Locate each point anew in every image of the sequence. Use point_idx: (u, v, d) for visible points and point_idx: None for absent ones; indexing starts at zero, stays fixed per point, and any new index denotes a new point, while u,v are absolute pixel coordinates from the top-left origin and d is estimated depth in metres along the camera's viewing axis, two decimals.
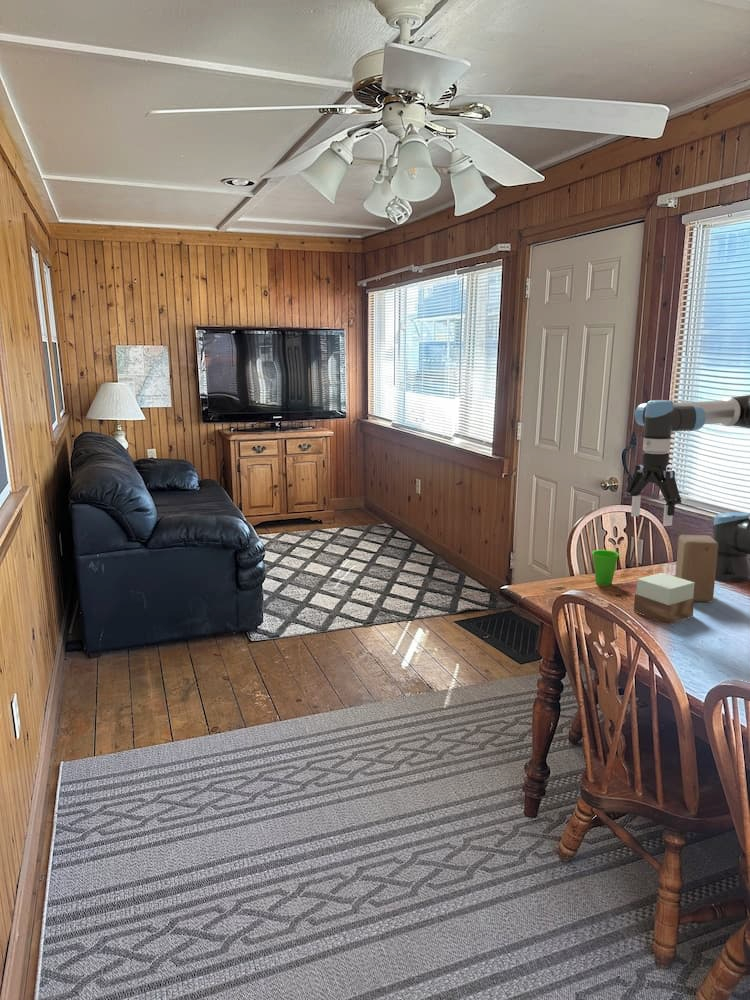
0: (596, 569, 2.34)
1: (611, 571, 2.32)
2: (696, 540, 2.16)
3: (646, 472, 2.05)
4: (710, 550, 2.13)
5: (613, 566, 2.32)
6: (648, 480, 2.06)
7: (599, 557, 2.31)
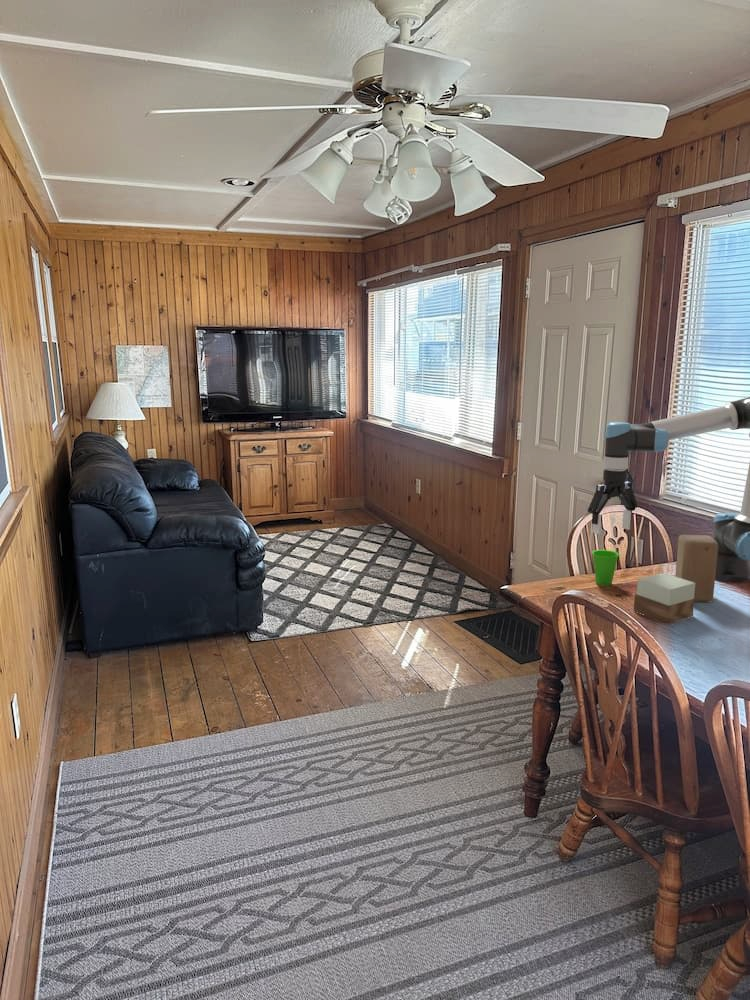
0: (596, 569, 2.34)
1: (611, 571, 2.32)
2: (696, 540, 2.16)
3: None
4: (710, 550, 2.13)
5: (613, 566, 2.32)
6: None
7: (599, 557, 2.31)
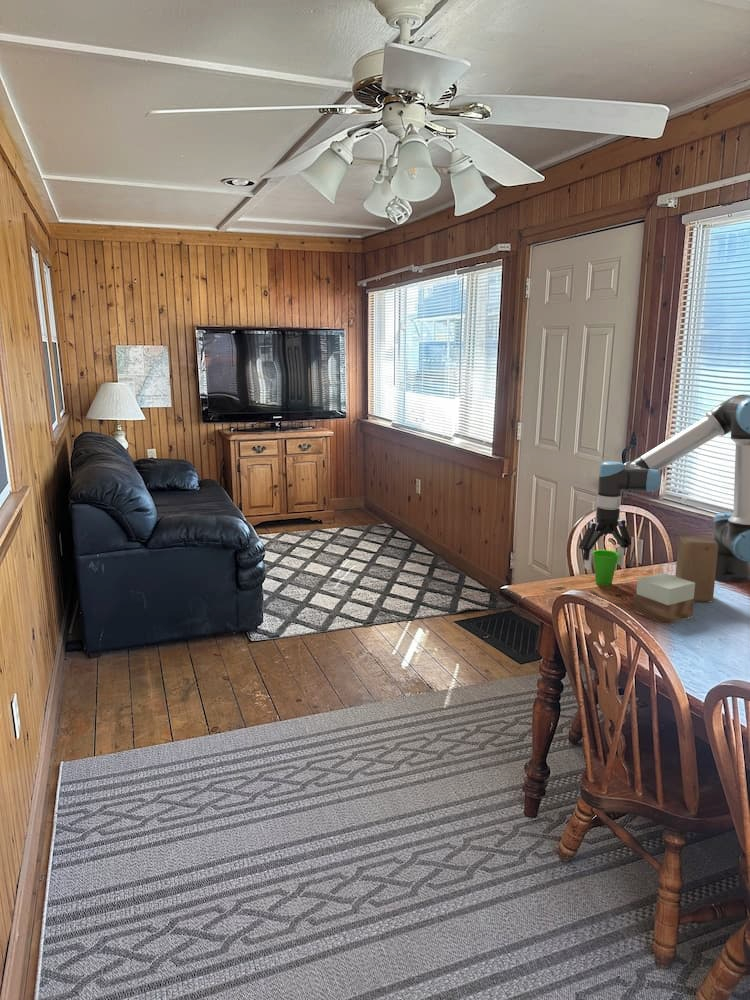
0: (596, 569, 2.34)
1: (611, 571, 2.32)
2: (696, 540, 2.16)
3: None
4: (710, 550, 2.13)
5: (613, 566, 2.32)
6: None
7: (599, 557, 2.31)
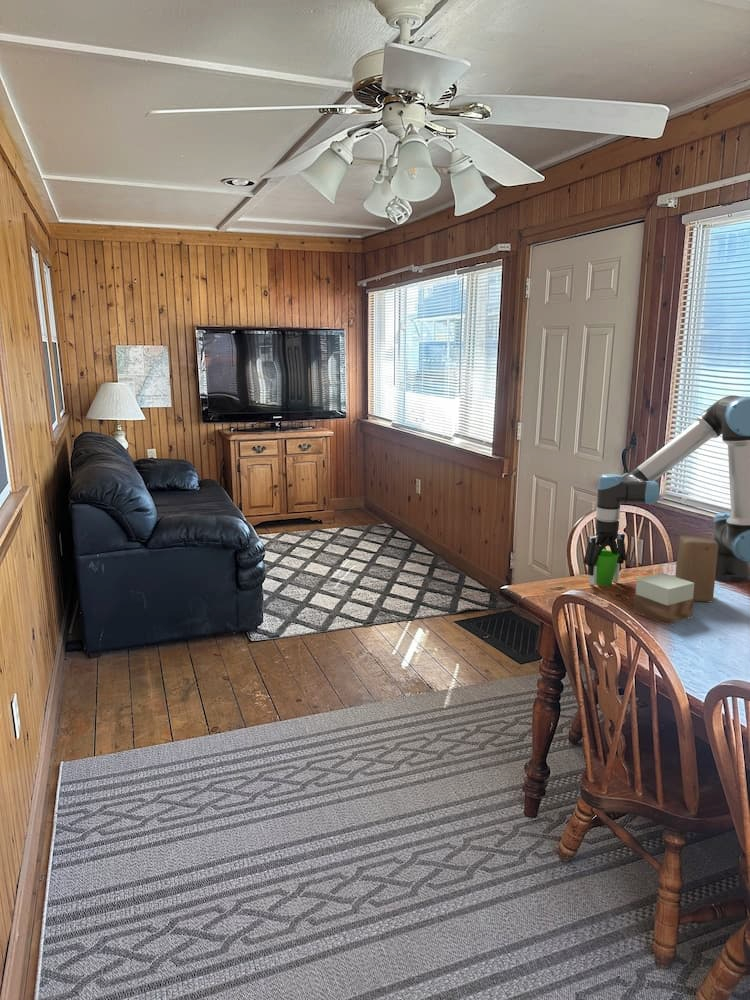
0: None
1: (611, 571, 2.32)
2: (696, 540, 2.16)
3: None
4: (710, 550, 2.13)
5: (613, 566, 2.32)
6: None
7: (599, 557, 2.31)
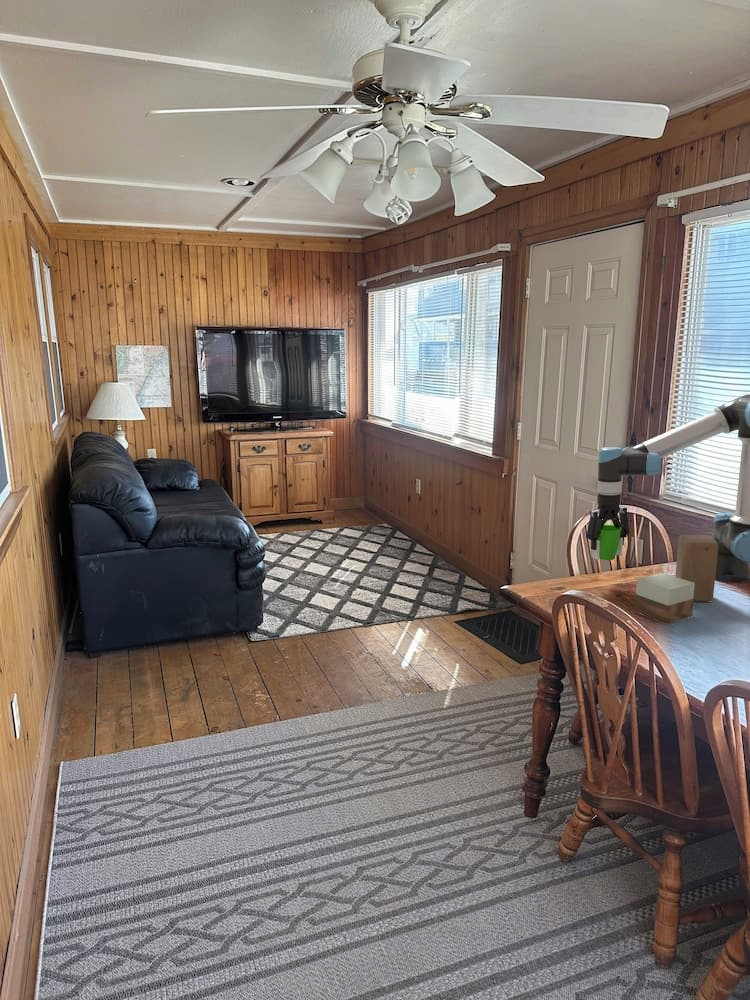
0: (599, 544, 2.32)
1: (614, 545, 2.30)
2: (696, 540, 2.16)
3: None
4: (710, 550, 2.13)
5: (616, 540, 2.30)
6: None
7: (602, 531, 2.29)
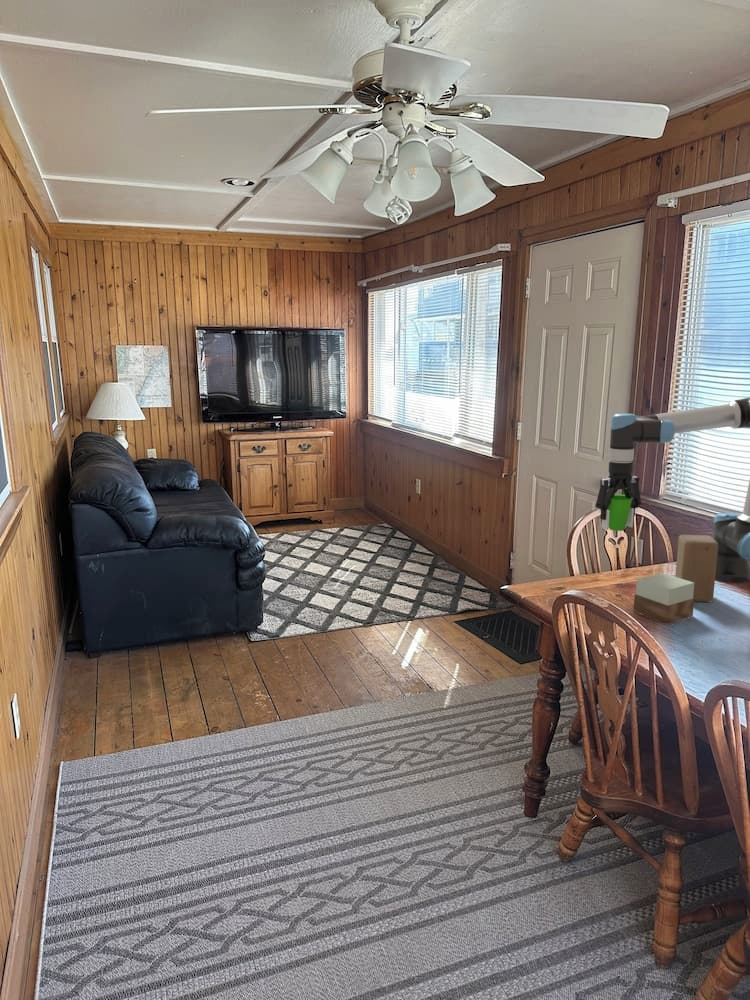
0: (609, 513, 2.25)
1: (624, 515, 2.23)
2: (696, 540, 2.16)
3: None
4: (710, 550, 2.13)
5: (626, 510, 2.23)
6: None
7: (612, 500, 2.22)
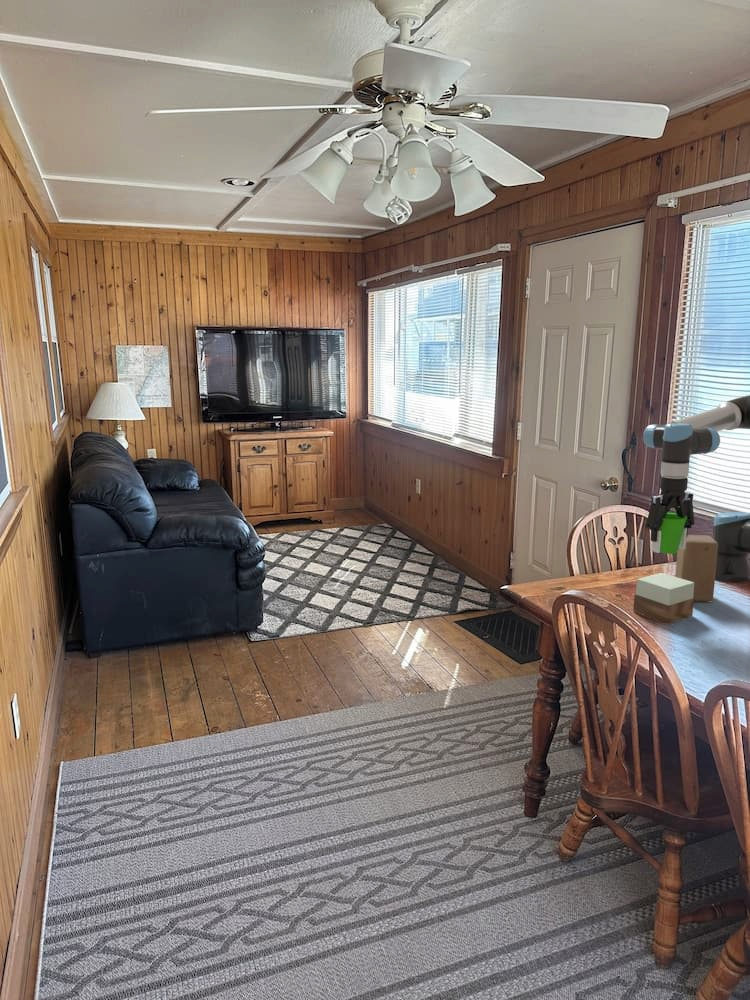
0: None
1: (678, 537, 2.00)
2: (696, 540, 2.16)
3: None
4: (710, 550, 2.13)
5: (680, 530, 2.00)
6: None
7: (664, 520, 1.99)
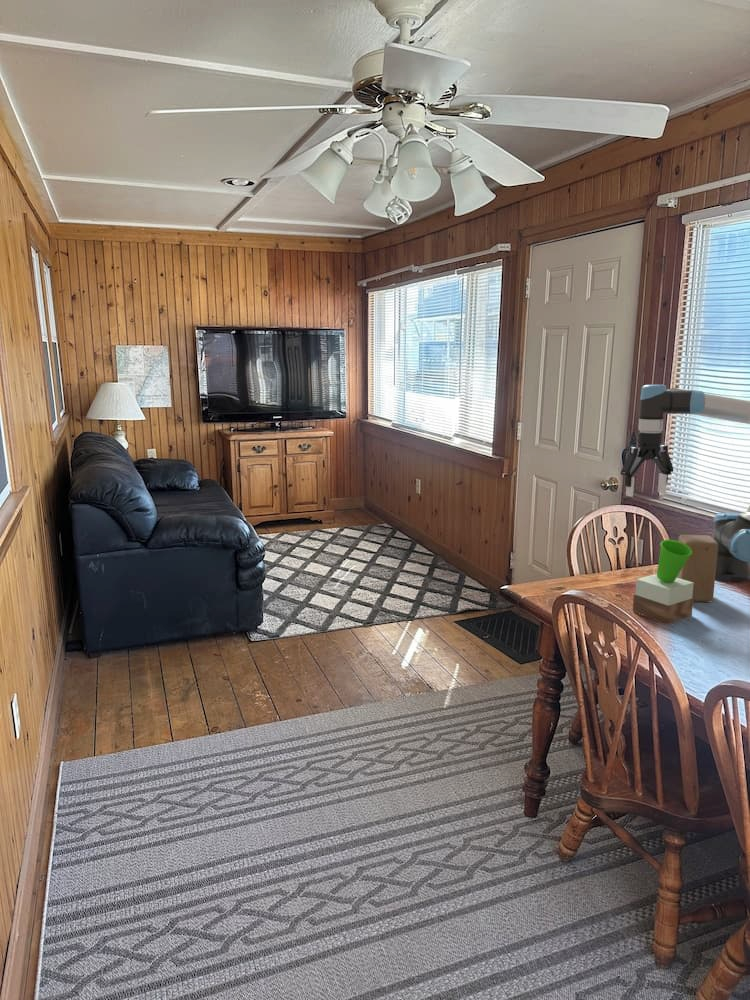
0: (665, 566, 2.01)
1: (681, 568, 2.01)
2: (696, 540, 2.16)
3: None
4: (710, 550, 2.13)
5: (684, 563, 2.00)
6: None
7: (674, 555, 1.97)
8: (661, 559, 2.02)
